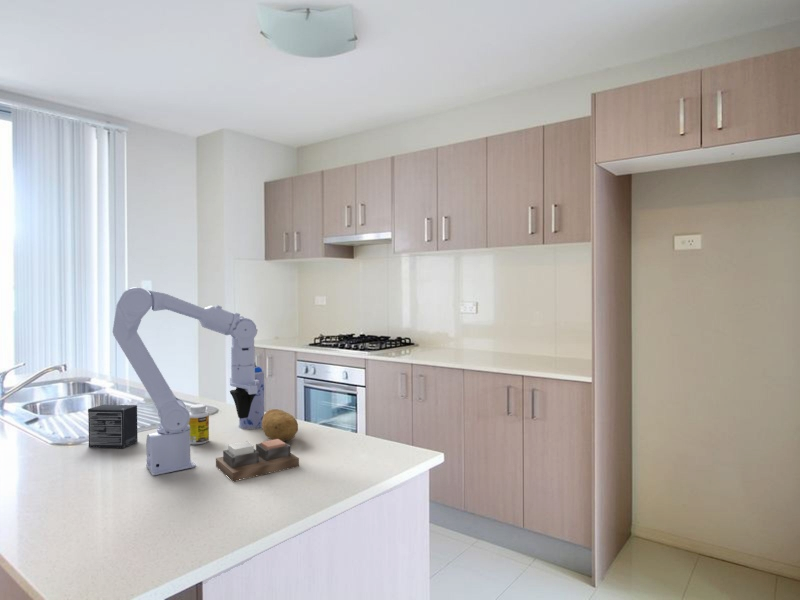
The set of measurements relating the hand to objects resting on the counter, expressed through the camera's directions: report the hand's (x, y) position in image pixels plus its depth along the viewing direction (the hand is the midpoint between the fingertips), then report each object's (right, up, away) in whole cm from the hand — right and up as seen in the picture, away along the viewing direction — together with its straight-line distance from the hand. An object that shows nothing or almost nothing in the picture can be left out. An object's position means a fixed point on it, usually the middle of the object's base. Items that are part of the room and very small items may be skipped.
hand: (243, 417), depth 129 cm
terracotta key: (+9, -7, -5) cm, 12 cm away
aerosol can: (-6, -9, +28) cm, 30 cm away
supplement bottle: (-16, -10, +11) cm, 22 cm away
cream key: (+3, -6, -10) cm, 12 cm away
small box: (-38, -10, +9) cm, 41 cm away
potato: (+6, -10, +13) cm, 18 cm away
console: (+6, -10, -7) cm, 14 cm away
